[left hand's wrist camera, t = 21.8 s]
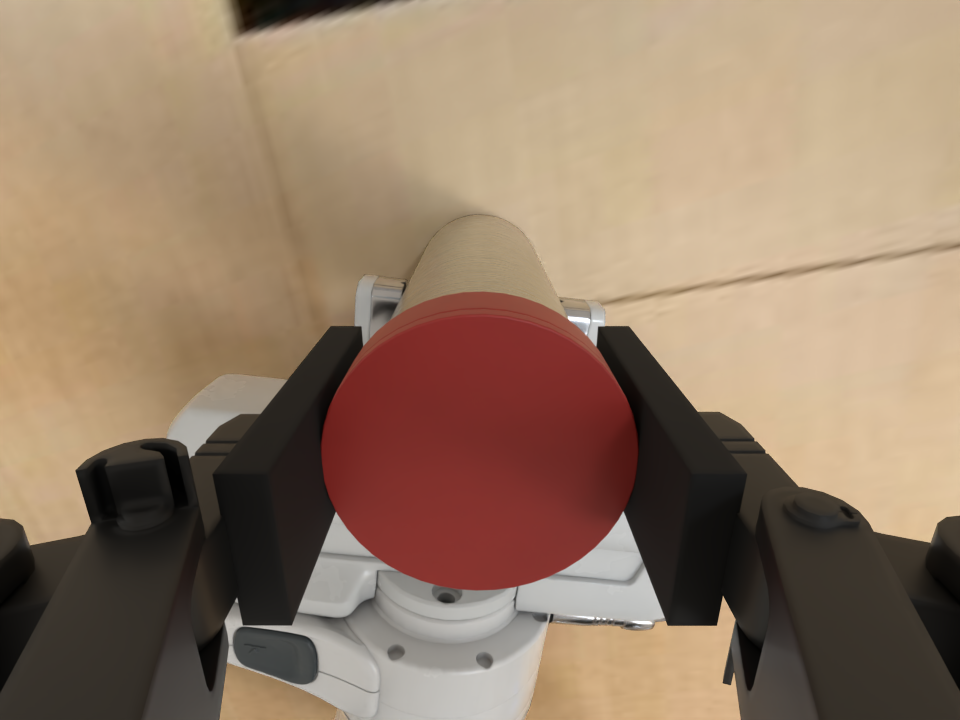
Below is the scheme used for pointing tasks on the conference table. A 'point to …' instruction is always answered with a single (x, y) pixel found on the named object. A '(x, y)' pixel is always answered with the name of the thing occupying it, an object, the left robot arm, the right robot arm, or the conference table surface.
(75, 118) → the conference table surface
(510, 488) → the lid
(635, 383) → the left robot arm
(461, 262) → the jar
